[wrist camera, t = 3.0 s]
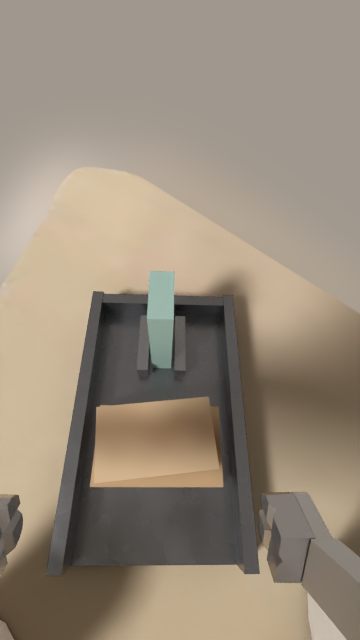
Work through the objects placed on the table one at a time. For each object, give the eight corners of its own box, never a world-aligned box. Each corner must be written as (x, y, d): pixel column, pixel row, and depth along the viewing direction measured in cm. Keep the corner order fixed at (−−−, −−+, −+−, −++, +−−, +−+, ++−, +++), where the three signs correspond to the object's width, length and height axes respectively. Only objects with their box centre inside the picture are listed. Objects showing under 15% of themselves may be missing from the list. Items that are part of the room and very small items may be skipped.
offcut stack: (219, 486, 24) (228, 488, 21) (95, 486, 24) (83, 487, 20) (215, 407, 27) (222, 396, 24) (104, 406, 27) (95, 395, 23)
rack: (247, 561, 23) (259, 573, 20) (61, 563, 22) (45, 576, 19) (226, 311, 33) (232, 295, 30) (99, 308, 32) (93, 291, 30)
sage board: (171, 368, 29) (173, 319, 20) (152, 368, 29) (146, 318, 20) (171, 331, 31) (174, 271, 22) (154, 330, 31) (149, 270, 22)
